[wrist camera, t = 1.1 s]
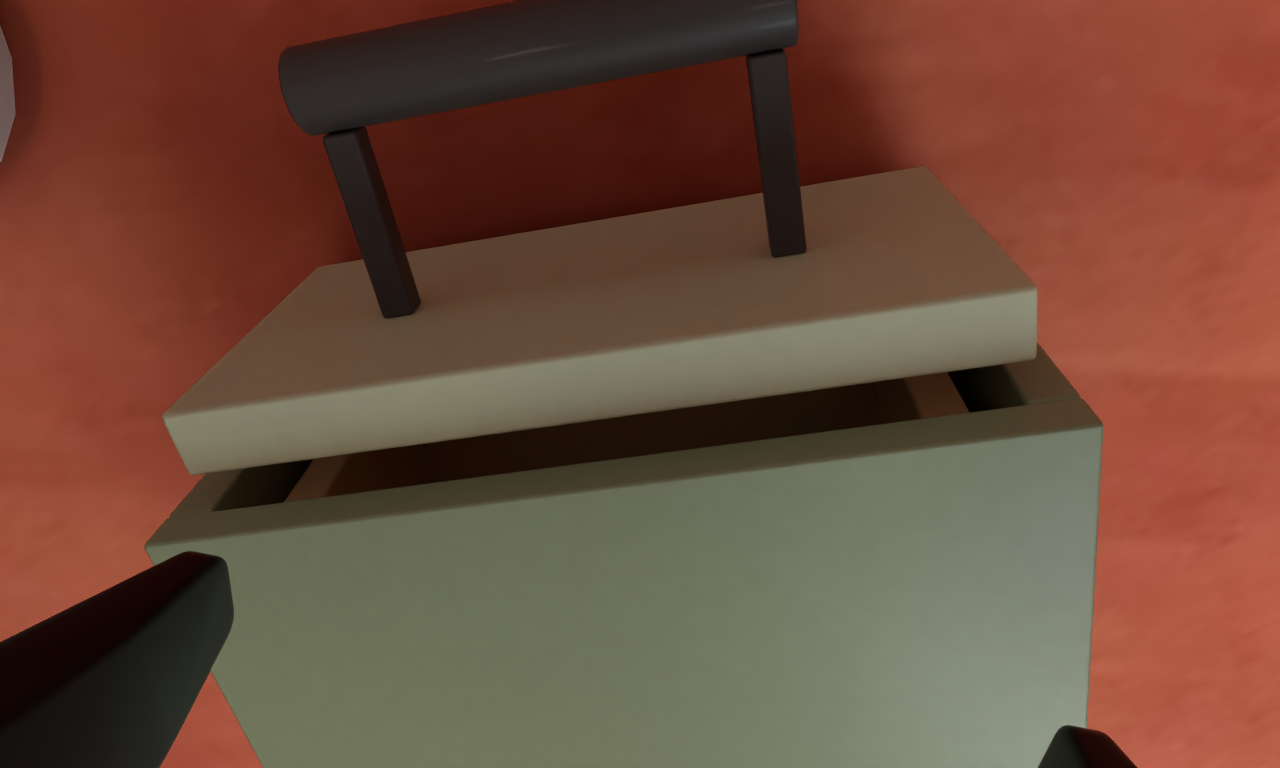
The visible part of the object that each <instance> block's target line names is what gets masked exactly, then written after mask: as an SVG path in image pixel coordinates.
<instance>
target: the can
mask: <svg viewBox="0 0 1280 768" xmlns="http://www.w3.org/2000/svg"><path fill="white" fill-rule="evenodd" d="M14 118H15V99H14V83H13V68H12V57H11V54H10V51H9V48H8V46H7V43H6V40H5V37H4V34H3V32H2V29H1V26H0V162H1V161H2V158H3V155H4V152H5V148H6V145H7V142H8V138H9V135H10V131H11V128H12V125H13V121H14Z"/></svg>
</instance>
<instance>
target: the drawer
mask: <svg viewBox="0 0 1280 768" xmlns="http://www.w3.org/2000/svg"><path fill="white" fill-rule="evenodd" d="M798 37H799V25H798V9H797V0H520V1H515V2H510V3H505V4H500V5H495V6H490V7H485V8H480V9H475V10H470V11H465V12H460V13H455V14H450V15H445V16H440V17H435V18H430V19H425V20H420V21H415V22H410V23H405V24H400V25H395V26H390V27H385V28H380V29H375V30H371V31H366V32H361V33H356V34H351V35H346V36H341V37H336V38H331V39H326V40H321V41H316V42H311V43H306V44H301V45H296V46H291V47H287V48H286V49H284V50H283V51H282V53H281V55H280V58H279V66H278V71H279V81H280V86H281V90H282V94H283V97H284V100H285V103H286V105H287V108H288V110H289V112H290V114H291V116H292V117H293V119H294V121H295V122H296V124H297V125H298V126H299V127H300V128H301V129H302V130H303V131H304V132H305V133H307V134H309V135H313V136H316V135H322V134H327V133H329V134H327V135H325V136H324V137H323V143H324V146H325V149H326V151H327V154H328V157H329V160H330V163H331V166H332V169H333V172H334V175H335V178H336V181H337V184H338V187H339V190H340V192H341V195H342V198H343V201H344V204H345V207H346V210H347V213H348V216H349V219H350V222H351V225H352V228H353V230H354V233H355V236H356V239H357V242H358V245H359V248H360V251H361V254H362V257H363V259H362V260H356V261H350V262H344V263H338V264H332V265H326V266H320V267H318V268H316V269H315V270H314V271H313V272H312V273H311V274H310V275H309V276H308V277H307V278H306V279H305V280H304V281H303V282H302V283H300V284H299V285H298V286H297V287H296V288H295V289H294V290H293V291H292V292H291V293H290V294H289V295H288V296H287V297H286V298H285V299H284V300H283V301H281V302H280V303H279V304H278V305H277V306H276V307H275V308H274V309H273V310H272V311H271V312H270V313H269V314H268V315H267V316H266V317H265V318H263V319H262V320H261V321H260V322H259V323H258V324H257V325H256V326H255V327H254V328H253V329H252V330H251V331H250V332H249V333H248V334H247V335H246V336H244V337H243V338H242V339H241V340H240V341H239V342H238V343H237V344H236V345H235V346H234V347H233V348H232V349H231V350H230V351H229V352H228V353H226V354H225V355H224V356H223V357H222V358H221V359H220V360H219V361H218V362H217V363H216V364H215V365H214V366H213V367H212V368H211V369H210V370H209V371H207V372H206V373H205V374H204V375H203V376H202V377H201V378H200V379H199V380H198V381H197V382H196V383H195V384H194V385H193V386H192V387H191V388H189V389H188V390H187V391H186V392H185V393H184V394H183V395H182V396H181V397H180V398H179V399H178V400H177V401H176V402H175V403H174V404H173V405H172V406H170V407H169V408H168V409H167V410H166V411H165V412H164V413H163V415H162V420H163V422H164V424H165V426H166V428H167V430H168V432H169V434H170V436H171V438H172V440H173V442H174V444H175V446H176V448H177V450H178V452H179V454H180V456H181V458H182V460H183V462H184V464H185V467H186V469H187V471H188V472H189V473H190V474H191V475H199V474H206V473H214V472H221V471H228V470H235V469H243V468H250V467H257V466H265V465H272V464H279V463H286V462H294V461H301V460H308V459H313V461H312V462H311V464H310V465H309V467H308V468H307V469H306V471H305V472H304V474H303V475H302V477H301V478H300V480H299V481H298V482H297V484H296V485H295V487H294V488H293V490H292V491H291V493H290V494H289V495H288V497H287V498H286V500H285V501H284V502H291V501H299V500H307V499H314V498H322V497H330V496H337V495H345V494H353V493H360V492H368V491H375V490H383V489H391V488H398V487H406V486H414V485H421V484H429V483H436V482H444V481H452V480H459V479H467V478H475V477H482V476H490V475H498V474H505V473H513V472H520V471H528V470H536V469H543V468H551V467H559V466H566V465H574V464H581V463H589V462H597V461H604V460H612V459H620V458H627V457H635V456H643V455H650V454H658V453H665V452H673V451H681V450H688V449H696V448H704V447H711V446H719V445H726V444H734V443H742V442H749V441H757V440H765V439H772V438H780V437H788V436H795V435H803V434H810V433H818V432H826V431H833V430H841V429H849V428H856V427H864V426H871V425H879V424H887V423H894V422H902V421H910V420H917V419H925V418H933V417H940V416H948V415H955V414H963V413H970V412H969V410H968V409H967V407H966V405H965V403H964V402H963V400H962V398H961V396H960V394H959V393H958V391H957V389H956V387H955V385H954V384H953V382H952V380H951V378H950V376H949V375H948V373H947V372H950V371H957V370H965V369H972V368H979V367H986V366H994V365H1001V364H1008V363H1016V362H1023V361H1030V360H1033V359H1035V357H1036V354H1037V299H1038V289H1037V287H1036V285H1035V284H1034V283H1033V282H1032V280H1031V279H1030V278H1029V277H1028V276H1027V275H1026V274H1025V273H1024V272H1023V271H1022V270H1021V269H1020V267H1019V266H1018V265H1017V264H1016V263H1015V262H1014V261H1013V260H1012V259H1011V258H1010V257H1009V256H1008V255H1007V253H1006V252H1005V251H1004V250H1003V249H1002V248H1001V247H1000V246H999V245H998V244H997V243H996V242H995V240H994V239H993V238H992V237H991V236H990V235H989V234H988V233H987V232H986V231H985V230H984V229H983V227H982V226H981V225H980V224H979V223H978V222H977V221H976V220H975V219H974V218H973V217H972V216H971V215H970V213H969V212H968V211H967V210H966V209H965V208H964V207H963V206H962V205H961V204H960V203H959V202H958V200H957V199H956V198H955V197H954V196H953V195H952V194H951V193H950V192H949V191H948V190H947V189H946V187H945V186H944V185H943V184H942V183H941V182H940V181H939V180H938V179H937V178H936V177H935V176H934V174H933V173H932V172H931V171H930V170H929V169H928V168H927V167H925V166H921V167H915V168H909V169H903V170H897V171H891V172H885V173H879V174H873V175H867V176H861V177H855V178H849V179H843V180H837V181H831V182H825V183H819V184H813V185H807V186H801V187H800V180H799V171H798V161H797V152H796V142H795V133H794V124H793V114H792V105H791V95H790V86H789V76H788V67H787V58H786V53H785V51H784V50H783V48H788V47H793V46H795V45H797V43H798ZM745 55H746V65H747V73H748V80H749V88H750V96H751V104H752V112H753V120H754V128H755V136H756V144H757V152H758V160H759V168H760V176H761V184H762V192H763V193H759V194H753V195H747V196H741V197H735V198H729V199H723V200H717V201H711V202H705V203H699V204H693V205H687V206H681V207H675V208H669V209H663V210H657V211H651V212H645V213H639V214H633V215H627V216H621V217H615V218H609V219H603V220H597V221H591V222H585V223H579V224H573V225H567V226H561V227H555V228H549V229H542V230H536V231H530V232H524V233H518V234H512V235H506V236H500V237H494V238H488V239H482V240H476V241H470V242H464V243H458V244H452V245H446V246H440V247H434V248H428V249H422V250H416V251H410V252H405V249H404V246H403V243H402V240H401V237H400V234H399V231H398V227H397V224H396V221H395V218H394V215H393V212H392V209H391V205H390V202H389V199H388V196H387V193H386V190H385V187H384V183H383V180H382V177H381V174H380V171H379V168H378V165H377V161H376V158H375V155H374V152H373V149H372V146H371V143H370V139H369V136H368V133H367V130H366V128H365V126H370V125H375V124H381V123H386V122H391V121H397V120H402V119H407V118H413V117H418V116H424V115H429V114H434V113H440V112H445V111H450V110H456V109H461V108H466V107H472V106H477V105H482V104H488V103H493V102H498V101H504V100H509V99H515V98H520V97H525V96H531V95H536V94H541V93H547V92H552V91H557V90H563V89H568V88H573V87H579V86H584V85H590V84H595V83H600V82H606V81H611V80H616V79H622V78H627V77H632V76H638V75H643V74H648V73H654V72H659V71H665V70H670V69H675V68H681V67H686V66H691V65H697V64H702V63H707V62H713V61H718V60H723V59H729V58H734V57H739V56H745Z"/></svg>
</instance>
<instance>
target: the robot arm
mask: <svg viewBox="0 0 1280 768" xmlns="http://www.w3.org/2000/svg"><path fill="white" fill-rule="evenodd" d="M233 620H234V606H233V599H232V592H231V584H230V577H229V570H228V566H227V563H226V561H225V560H224V559H223V558H221V557H220V556H216V555H211V554H206V553H201V552H195V551H186V552H182V553H180V554H178V555H175V556H173V557H171V558H169V559H167V560H165V561H163V562H161V563H159V564H157V565H155V566H153V567H151V568H149V569H147V570H145V571H143V572H141V573H139V574H137V575H135V576H133V577H131V578H129V579H127V580H125V581H123V582H121V583H119V584H117V585H115V586H113V587H111V588H109V589H107V590H105V591H103V592H101V593H99V594H97V595H95V596H93V597H91V598H89V599H87V600H85V601H82V602H80V603H78V604H76V605H74V606H72V607H70V608H68V609H66V610H64V611H62V612H60V613H58V614H56V615H54V616H52V617H50V618H48V619H46V620H44V621H42V622H40V623H38V624H36V625H34V626H32V627H30V628H28V629H26V630H24V631H22V632H20V633H18V634H16V635H14V636H12V637H10V638H8V639H6V640H4V641H2V642H0V768H159V767H160V765H161V764H162V762H163V760H164V759H165V757H166V755H167V753H168V751H169V750H170V748H171V746H172V744H173V742H174V741H175V739H176V737H177V735H178V733H179V731H180V729H181V727H182V725H183V723H184V721H185V719H186V717H187V715H188V713H189V711H190V709H191V707H192V706H193V704H194V702H195V700H196V698H197V696H198V694H199V692H200V690H201V688H202V686H203V684H204V682H205V680H206V678H207V676H208V674H209V672H210V670H211V668H212V667H213V665H214V663H215V661H216V659H217V657H218V655H219V653H220V651H221V649H222V647H223V645H224V643H225V641H226V639H227V637H228V635H229V633H230V631H231V628H232V624H233ZM1038 768H1137V767H1136V766H1135V765H1134V763H1133V762H1132V761H1131V760H1130V759H1129V758H1128V757H1127V756H1126V755H1125V753H1124V752H1123V751H1122V750H1121V749H1120V748H1119V747H1118V746H1117V745H1116V743H1115V742H1114V741H1113V740H1112V739H1111V738H1110V737H1109V736H1107V735H1106V734H1105V733H1103V732H1100V731H1097V730H1092V729H1087V728H1082V727H1077V726H1072V725H1064V726H1062V727H1061V728H1059V729H1058V731H1057V732H1056V733H1055V735H1054V737H1053V739H1052V741H1051V743H1050V745H1049V747H1048V749H1047V751H1046V752H1045V754H1044V756H1043V758H1042V760H1041V762H1040V764H1039V766H1038Z"/></svg>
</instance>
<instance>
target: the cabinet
mask: <svg viewBox="0 0 1280 768" xmlns="http://www.w3.org/2000/svg"><path fill="white" fill-rule="evenodd" d="M947 373H948V375H949V376H950V378H951V380H952V382H953V384H954V385H955V387H956V389H957V391H958V393H959V394H960V396H961V398H962V400H963V402H964V403H965V405H966V407H967V409H968V410H969V412H970V413H963V414H955V415H948V416H940V417H933V418H925V419H917V420H910V421H902V422H894V423H887V424H879V425H871V426H864V427H856V428H849V429H841V430H833V431H826V432H818V433H810V434H803V435H795V436H788V437H780V438H772V439H765V440H757V441H749V442H742V443H734V444H726V445H719V446H711V447H704V448H696V449H688V450H681V451H673V452H665V453H658V454H650V455H643V456H635V457H627V458H620V459H612V460H604V461H597V462H589V463H581V464H574V465H566V466H559V467H551V468H543V469H536V470H528V471H520V472H513V473H505V474H498V475H490V476H482V477H475V478H467V479H459V480H452V481H444V482H436V483H429V484H421V485H414V486H406V487H398V488H391V489H383V490H375V491H368V492H360V493H353V494H345V495H337V496H330V497H322V498H314V499H307V500H299V501H291V502H284V501H285V500H286V498H287V497H288V495H289V494H290V493H291V491H292V490H293V488H294V487H295V485H296V484H297V482H298V481H299V480H300V478H301V477H302V475H303V474H304V472H305V471H306V469H307V468H308V467H309V465H310V464H311V462H312V461H313V459H308V460H301V461H294V462H286V463H279V464H272V465H265V466H257V467H250V468H243V469H235V470H228V471H221V472H214V473H206V474H205V475H204V476H203V478H202V479H201V480H200V481H199V482H198V483H197V485H196V486H195V487H194V488H193V489H192V490H191V491H190V493H189V494H188V495H187V496H186V497H185V498H184V500H183V501H182V502H181V503H180V504H179V505H178V506H177V508H176V509H175V510H174V511H173V512H172V513H171V515H170V518H168V519H166V520H165V522H164V523H163V524H162V525H161V526H160V527H159V529H158V530H157V531H156V532H155V533H154V534H153V535H152V537H151V538H150V539H149V540H148V541H147V542H146V544H145V546H144V547H145V550H146V552H147V554H148V556H149V557H150V559H151V561H152V563H153V565H154V566H155V565H157V564H159V563H161V562H163V561H165V560H167V559H169V558H171V557H173V556H175V555H178V554H180V553H182V552H186V551H195V552H201V553H206V554H211V555H216V556H220V557H221V558H223V559H224V560H225V561H226V563H227V566H228V570H229V577H230V584H231V592H232V599H233V606H234V620H233V624H232V628H231V631H230V633H229V635H228V637H227V639H226V641H225V643H224V645H223V647H222V649H221V651H220V653H219V655H218V657H217V659H216V661H215V663H214V665H213V667H212V668H211V672H212V674H213V676H214V678H215V680H216V681H217V683H218V685H219V687H220V689H221V691H222V693H223V694H224V696H225V698H226V700H227V702H228V704H229V706H230V707H231V709H232V711H233V713H234V715H235V717H236V718H237V720H238V722H239V724H240V726H241V728H242V730H243V731H244V733H245V735H246V737H247V739H248V741H249V743H250V744H251V746H252V748H253V750H254V752H255V754H256V755H257V757H258V759H259V761H260V763H261V765H262V767H263V768H1038V766H1039V764H1040V762H1041V760H1042V758H1043V756H1044V754H1045V752H1046V751H1047V749H1048V747H1049V745H1050V743H1051V741H1052V739H1053V737H1054V735H1055V733H1056V732H1057V731H1058V729H1059V728H1061V727H1062V726H1064V725H1072V726H1077V727H1082V728H1087V712H1088V694H1089V676H1090V658H1091V640H1092V622H1093V604H1094V586H1095V568H1096V550H1097V532H1098V514H1099V496H1100V478H1101V460H1102V442H1103V423H1102V422H1101V420H1100V419H1099V418H1098V417H1097V415H1096V414H1095V413H1094V412H1093V410H1092V409H1091V408H1090V407H1089V405H1088V404H1087V403H1086V402H1085V400H1084V399H1081V397H1080V395H1079V394H1078V392H1077V391H1076V390H1075V389H1074V388H1073V386H1072V385H1071V384H1070V383H1069V381H1068V380H1067V379H1066V378H1065V376H1064V375H1063V374H1062V373H1061V371H1060V370H1059V369H1058V368H1057V366H1056V365H1055V364H1054V363H1053V361H1052V360H1051V359H1050V358H1049V356H1048V355H1047V354H1046V353H1045V351H1044V350H1043V349H1042V348H1041V346H1040V345H1039V344H1038V343H1037V354H1036V357H1035V359H1033V360H1030V361H1023V362H1016V363H1008V364H1001V365H994V366H986V367H979V368H972V369H965V370H957V371H950V372H947Z"/></svg>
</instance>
